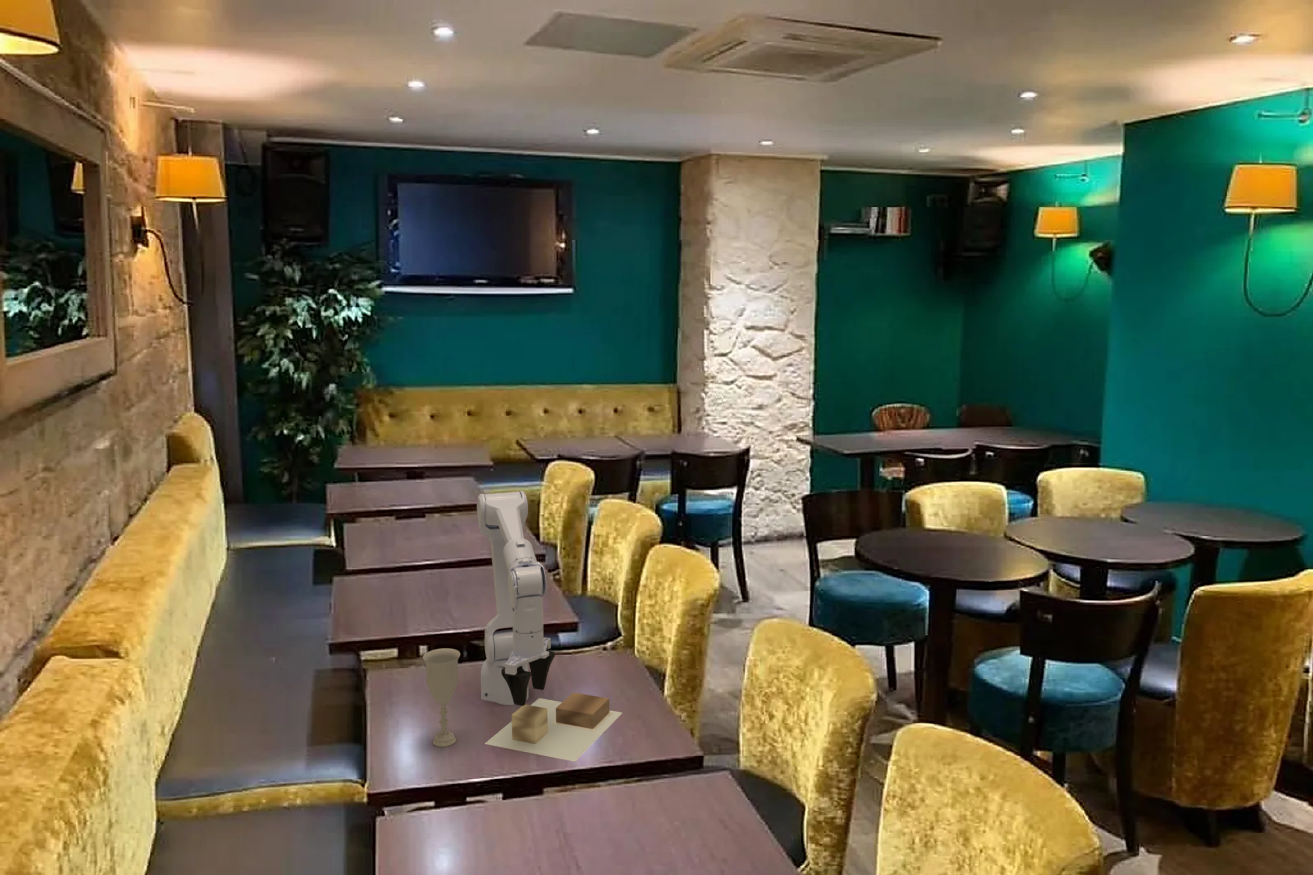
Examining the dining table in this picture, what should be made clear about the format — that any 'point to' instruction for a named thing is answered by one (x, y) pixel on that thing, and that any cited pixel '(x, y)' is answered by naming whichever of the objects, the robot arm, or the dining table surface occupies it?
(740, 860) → the dining table surface
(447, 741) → the chalice
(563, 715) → the walnut slab
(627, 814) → the dining table surface
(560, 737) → the plain cream board
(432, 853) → the dining table surface
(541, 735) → the light wooden cube
